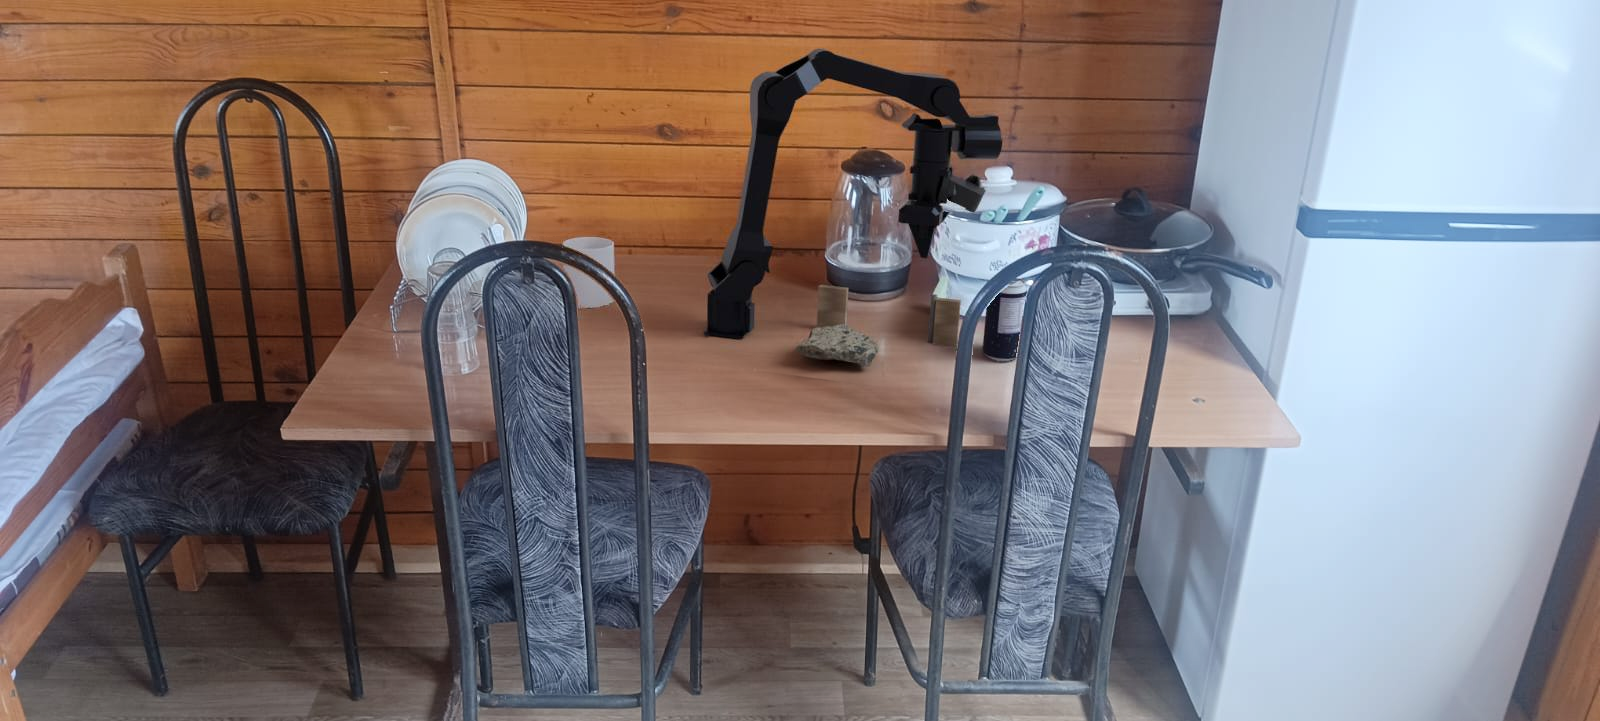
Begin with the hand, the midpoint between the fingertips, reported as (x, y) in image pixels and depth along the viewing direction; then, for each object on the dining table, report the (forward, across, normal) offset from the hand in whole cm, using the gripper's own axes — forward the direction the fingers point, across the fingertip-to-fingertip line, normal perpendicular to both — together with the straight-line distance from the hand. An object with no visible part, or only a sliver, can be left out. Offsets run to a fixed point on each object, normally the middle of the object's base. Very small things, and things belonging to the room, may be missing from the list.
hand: (924, 257), depth 183 cm
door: (+11, -9, -3) cm, 15 cm away
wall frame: (+11, -9, -3) cm, 15 cm away
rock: (+12, -22, +4) cm, 26 cm away
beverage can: (+12, -11, -14) cm, 21 cm away
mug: (+12, -7, +54) cm, 56 cm away
